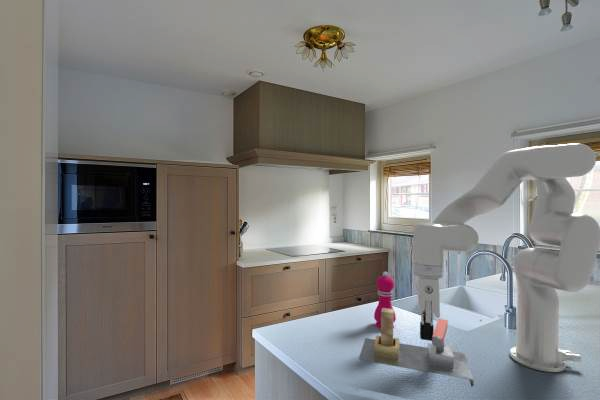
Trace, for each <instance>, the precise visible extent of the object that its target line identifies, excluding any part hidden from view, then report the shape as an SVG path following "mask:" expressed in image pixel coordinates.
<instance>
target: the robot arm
mask: <svg viewBox="0 0 600 400" xmlns="http://www.w3.org/2000/svg"><path fill="white" fill-rule="evenodd" d="M596 162H597V157H596V153H595V151H594V150H593V149H592V148H591V147H590V146H588V145H587V144H584V143H567V144H566V143H565V144H557V145H555V144H554V145H541V146H537V145H536V146H530V147H525V148H519V149H512V150H508V151H506V152H504V153H502V154H500V156H499V157H497V159H496V160H495V161H494V162H493V163H492V164H491V166H490V167H489V169H488V170H487V171H486V172H484V174H483V176H481V178H480V179H479V180H478V182H477V183H476V184H475V185H474V186H473V187H472V188H471V189H469V190H468V191H467V192H464V193H463V194H462V195H461V196H459V197H458V198H456V199H454V200H453V201H452V202H450V203H449V204H448V205H447V206H446V207H444V208H443V210H442V211H440V213H439V214H438V215H437V216H436V218H435V219H434V220H433V222H431V223H430V222H420V223H419V222H418V223H416V224H415V225H414V226H413V234H412V235H413V237H412V240H413V241H412V275H413V276H415V277H416V278H417V279H416V280H417V285H416V286H417V288H416V289H417V290H416V291H417V307H418V312H419V315H420V321H419V339H420V340H424V341H431V342H432V336H433V333H434V330H435V326H434V317H435V318H437V319H440V317H441V310H440V309H441V305H440V304H441V303H440V302H441V300H440V299H441V298H440V295H441V294H440V293H441V292H440V290H441V289H440V279H443V278H444V255H445V251H447V252H454V253H469V252H471V251H473V250H474V249H475V248H476V247H477V246H478V244H479V238H480V237H479V234H478V232H477V231H476V229H474V227H472V226H471V225H468V224H465V223H467V222H469V220H471V219H472V220H473V219H475V218H476V217H478V216H481V215H484V214H488V213H491V212H493V211H495V210H498V209H500V208H502V207H503V206H504V205H505V203H507V201H508V200H509V199H510V198H511V196H512V195H513V194H514V192H515V191H516V190H517V189H518V187H519V186H520V185H521V184H522V183H523V182H524V181H532V182H533V184H534V185H535V188H536V193H537V194H536V195H537V197H536V201H535V205H534V209H533V211H532V216H531V219H530V224H529V226H528V227H529V229H528V235H529V237H530V239H531V240H532V241H533V242H535V243H538V244H541V245H543V246H544V245H545V246H549V247H556V248H559V251H554V250H550V249H546V248H545V249H543V248H540V247H539V248H537V247H527V248H524V249H521V250H519V251H518V252H517V253H516V254H515V256H514V257H513V264H512V265H513V270H514V271H513V272H514V276H515V283H516V292H517V293H516V334H515V335H516V336H515V337H516V342H515V343H516V344H515V345H516V346H512V347H511V348H510V350H509V356H510V357H511V358H512V359H513V360H514V361H516V362H517V363H518V364H520V365H523V366H525V367H527V368H529V369H530V368H531V369H533V370H537V371H541V372H545V373H546V372H547V373H560V372H563V371H565V370H566V368H567V367H566V362H568V361H571V362H575V363H581V362H582V357H581V355H580V354H576V353H571V351H570V350H565V349H561V348H560V347H559V345H560V344H559V340H560V339H559V338H560V337H559V335H560V332H559V331H560V330H559V329H560V298H559V295H558V292H557V290H558V291H563V292H567V293H578V292H580V291H583V290H584V289H585V288H586V287H587V286H588V284H589V283H590V280H591V277H592V274H593V272H594V267H595V264H596V259H597V255H598V253H599V247H600V225H599V222H598V221H597V220H596V219H595V218H594V217H592V216H591V215H588V214H585V213H581V212H580V213H579V212H574V208H575V203H576V193H575V190H574V188H573V186H572V185H571V183H570V182H569V180H568V179H567V178H575V177H583V176H585V175H587V174H589V173H590V172H591V171H592V170H593V169H594V167H595V165H596Z"/></svg>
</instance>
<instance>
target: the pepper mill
mask: <svg viewBox="0 0 600 400" xmlns="http://www.w3.org/2000/svg"><path fill="white" fill-rule="evenodd" d="M376 287H377V295H378V298H379V299H378V304H377V306H376V308H375V310H374V313H373V314H374V315H373V318H374V320H375V321H376V322H375V325H374V326H375V327H376V328H377V329H380V330H381V311H382V308H387V309H394V308H393V306H392V305H393V304H392V296H393V295H394V294H393V292H394V291H393V289H394V288H395V282H394V280H393V278H392V277H390V276H389V274H388V272H387V271H383V272H382V275H381V276H379V277H378V278H377V280H376ZM395 312H396V311H394V312H393V329H395V325H394V323H395V321H397V320H396V319H397V318H396V313H395Z"/></svg>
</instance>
